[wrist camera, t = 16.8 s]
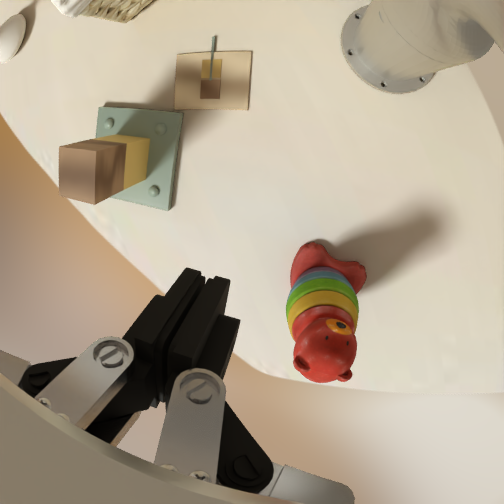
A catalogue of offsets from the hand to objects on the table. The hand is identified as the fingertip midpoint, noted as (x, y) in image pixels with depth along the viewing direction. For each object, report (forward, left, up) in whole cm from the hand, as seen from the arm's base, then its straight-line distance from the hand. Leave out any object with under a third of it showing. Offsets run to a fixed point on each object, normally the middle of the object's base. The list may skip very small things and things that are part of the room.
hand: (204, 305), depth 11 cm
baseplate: (+2, -21, -29) cm, 36 cm away
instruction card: (-11, -11, -29) cm, 33 cm away
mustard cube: (+2, -21, -28) cm, 35 cm away
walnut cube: (+2, -21, -22) cm, 31 cm away
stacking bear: (+14, +10, -29) cm, 34 cm away
